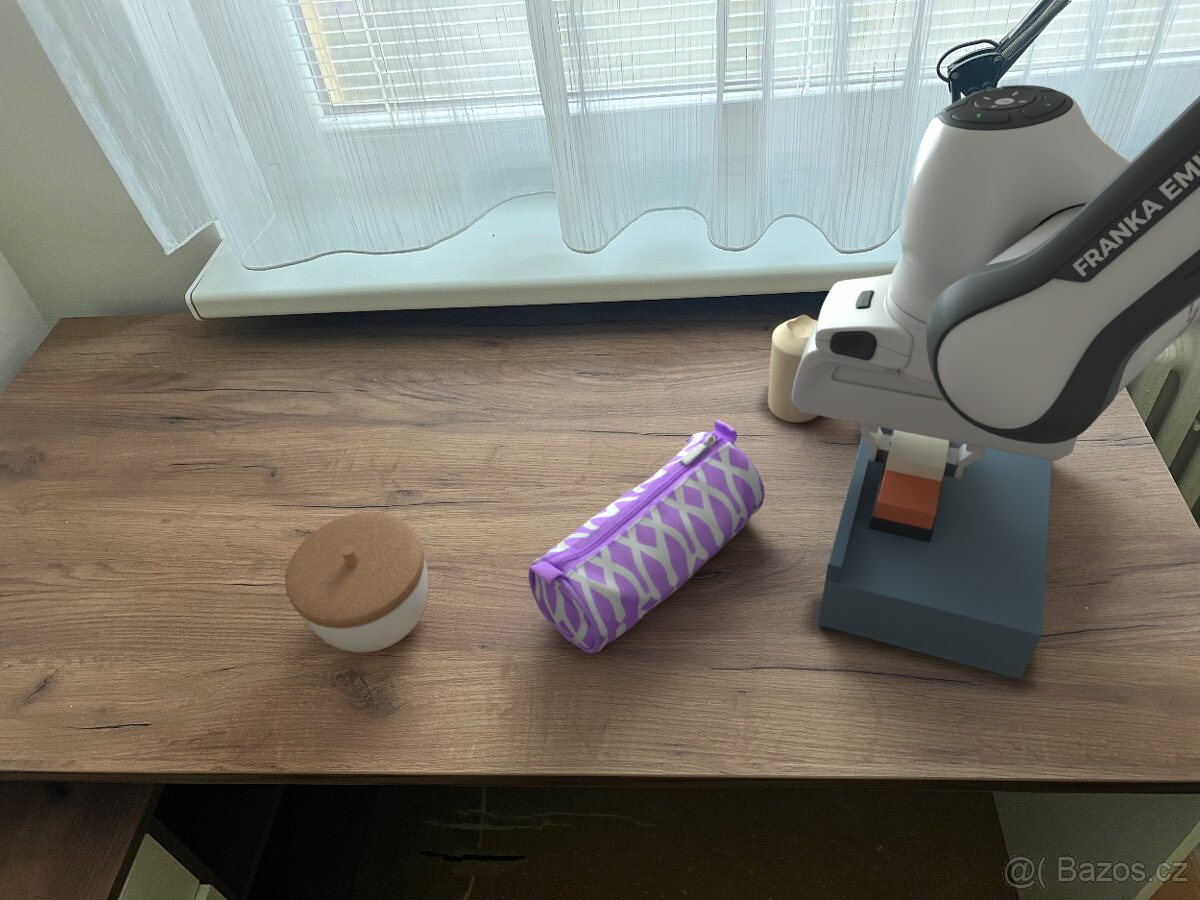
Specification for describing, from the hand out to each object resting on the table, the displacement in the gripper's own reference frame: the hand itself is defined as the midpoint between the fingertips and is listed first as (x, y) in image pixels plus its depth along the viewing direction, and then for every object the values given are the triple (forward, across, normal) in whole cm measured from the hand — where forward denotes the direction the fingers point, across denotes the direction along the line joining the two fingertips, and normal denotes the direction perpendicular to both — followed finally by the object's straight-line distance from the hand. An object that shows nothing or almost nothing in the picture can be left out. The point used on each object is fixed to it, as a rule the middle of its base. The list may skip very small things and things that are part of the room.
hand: (914, 464), depth 70 cm
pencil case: (+8, +19, +11) cm, 23 cm away
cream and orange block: (+2, 0, 0) cm, 2 cm away
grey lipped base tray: (+8, -3, 0) cm, 9 cm away
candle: (+8, +12, -13) cm, 20 cm away
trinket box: (+8, +39, +23) cm, 46 cm away
